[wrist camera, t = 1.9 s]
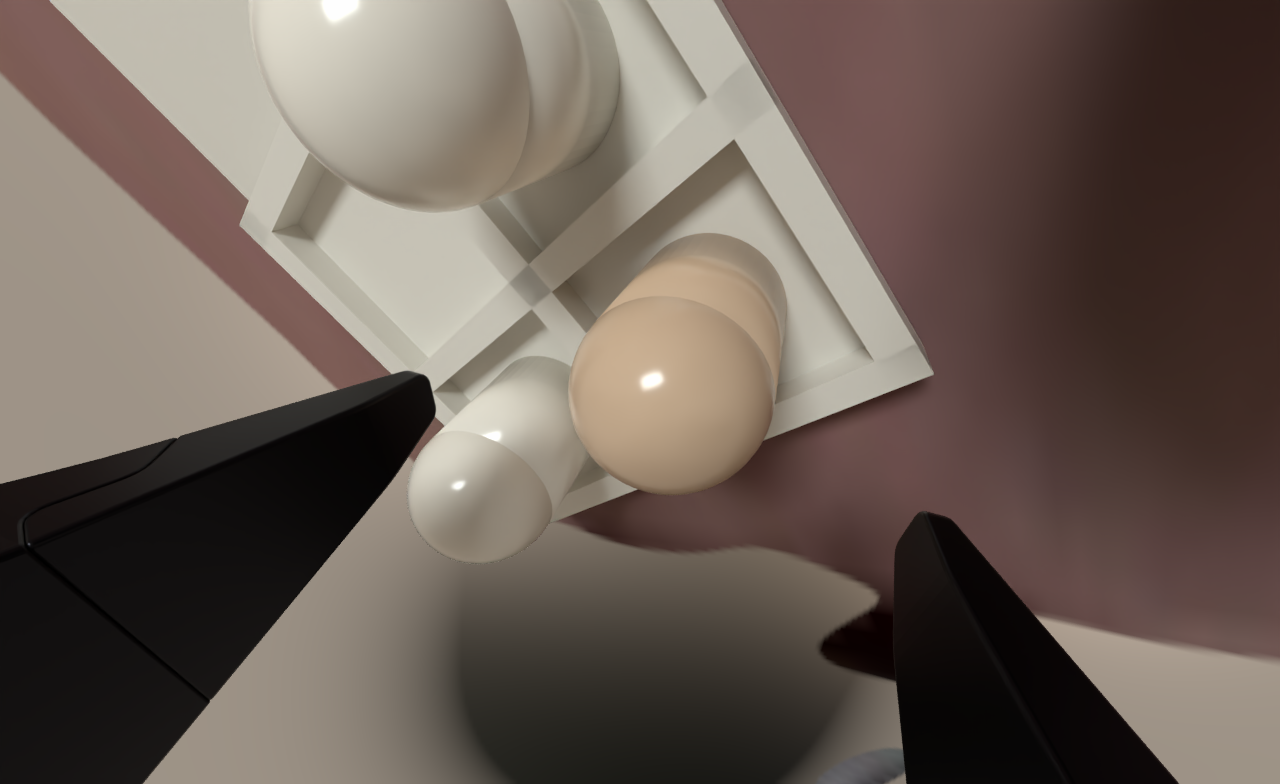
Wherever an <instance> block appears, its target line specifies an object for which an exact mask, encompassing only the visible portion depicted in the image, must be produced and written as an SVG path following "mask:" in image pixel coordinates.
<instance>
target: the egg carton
mask: <svg viewBox="0 0 1280 784" xmlns="http://www.w3.org/2000/svg"><path fill="white" fill-rule="evenodd" d="M49 1H50V2H51V3H52V4H53V5H54V6H55V7H56V8H57V9H58V10H59V11H60V12H61V13H62V14H63V15H64V16H65V17H66V18H67V19H68V20H69V21H70V22H71V23H72V24H73V25H74V26H75V27H76V28H77V29H78V30H79V31H80V32H81V33H82V34H83V35H84V36H85V37H86V38H87V39H88V40H89V41H90V42H91V43H92V44H93V45H94V46H95V47H96V48H97V49H98V50H99V51H100V52H101V53H102V54H103V55H104V56H105V57H106V58H107V59H108V60H109V61H110V62H111V63H112V64H113V65H114V66H115V67H116V68H117V69H118V70H119V71H120V72H121V73H122V74H123V75H124V76H125V77H126V78H127V79H128V80H129V81H130V82H131V83H132V84H133V85H134V86H135V87H136V88H137V89H138V90H139V91H140V92H141V93H142V94H143V95H144V96H145V97H146V98H147V99H148V100H149V101H150V102H151V103H152V104H153V105H154V106H155V107H156V108H157V109H158V110H159V111H160V112H161V113H162V114H163V115H164V116H165V117H166V118H167V119H168V120H169V121H170V122H171V123H172V124H173V125H174V126H175V127H176V128H177V129H178V130H179V131H180V132H181V133H182V134H183V135H184V136H185V137H186V138H187V139H188V140H189V141H190V142H191V143H192V144H193V145H194V146H195V147H196V148H197V149H198V150H199V151H200V152H201V153H202V154H203V155H204V156H205V157H206V158H207V159H208V160H209V161H210V162H211V163H212V164H213V165H214V166H215V167H216V168H217V169H218V170H219V171H220V172H221V173H222V174H223V175H224V176H225V177H226V178H227V179H228V180H229V181H230V182H231V183H232V184H233V185H234V186H235V187H236V188H237V189H238V190H239V191H240V192H241V193H242V194H243V195H244V196H245V197H246V198H247V199H248V200H249V202H248V205H247V207H246V210H245V212H244V215H243V217H242V220H241V222H240V226H241V227H242V228H243V229H244V230H245V231H246V232H247V233H248V234H249V235H250V236H251V237H252V238H253V239H254V240H255V241H256V242H257V243H258V244H259V245H260V246H261V247H262V248H263V249H264V250H265V251H266V252H267V253H268V254H269V255H270V256H271V257H273V258H274V259H275V260H276V261H277V262H278V263H279V264H280V265H281V266H282V267H283V268H284V269H285V270H286V271H287V272H288V273H289V274H290V275H291V276H292V277H293V278H294V279H295V280H296V281H297V282H298V283H299V284H300V285H301V286H302V287H303V288H304V289H305V290H306V291H307V292H308V293H309V294H310V295H311V296H312V297H313V298H314V299H315V300H317V301H318V302H319V303H320V304H321V305H322V306H323V307H324V308H325V309H326V310H327V311H328V312H329V313H330V314H331V315H332V316H333V317H334V318H335V319H336V320H337V321H338V322H339V323H340V324H341V325H342V326H343V327H344V328H345V329H346V330H347V331H348V332H349V333H350V334H351V335H352V336H353V337H354V338H355V339H356V340H357V341H358V342H360V343H361V344H362V345H363V346H364V347H365V348H366V349H367V350H368V351H369V352H370V353H371V354H372V355H373V356H374V357H375V358H376V359H377V360H378V361H379V362H380V363H381V364H382V365H383V366H384V367H385V368H386V369H387V370H388V371H389V372H390V373H391V374H395V373H398V372H401V371H413V372H417V373H420V374H424V375H425V376H427V377H428V379H429V380H430V383H431V388H432V392H433V396H434V400H435V404H436V414H435V417H436V418H437V419H438V420H439V421H440V422H441V423H442V424H443V425H444V426H446V425H447V424H448V423H449V422H450V421H451V420H452V419H453V418H454V417H455V416H456V415H457V414H458V413H459V412H460V411H461V410H462V409H464V408H465V407H466V406H467V405H468V404H469V403H470V402H471V401H472V400H473V399H474V398H475V397H476V396H477V395H478V394H479V393H480V392H481V391H482V390H483V389H484V388H486V387H487V386H488V385H489V384H490V383H491V382H492V381H493V380H494V379H495V378H496V377H497V376H498V375H499V374H500V373H501V372H502V371H503V370H504V369H505V368H506V367H508V366H509V365H510V364H511V363H512V362H514V361H515V360H517V359H519V358H522V357H526V356H545V357H549V358H553V359H556V360H559V361H561V362H563V363H565V364H567V365H569V366H572V363H573V360H574V357H575V354H576V352H577V349H578V347H579V345H580V343H581V341H582V339H583V338H584V336H585V335H586V333H587V332H588V331H589V329H590V328H591V327H592V325H593V324H594V323H595V322H596V320H597V319H598V318H599V317H600V316H601V315H602V314H603V313H604V311H605V310H606V309H607V308H608V307H609V306H610V305H611V304H612V302H613V301H614V300H615V299H616V298H617V297H618V296H619V295H620V293H621V292H622V291H623V290H624V289H625V288H626V287H627V286H628V284H629V283H630V282H631V281H632V280H633V279H634V278H635V277H636V275H637V274H638V273H639V272H640V271H641V270H642V269H643V268H644V266H645V265H646V264H647V263H648V262H649V261H650V260H651V259H652V257H653V256H654V255H655V254H656V253H657V252H659V251H660V250H661V249H662V248H663V247H665V246H666V245H668V244H669V243H671V242H673V241H675V240H677V239H679V238H682V237H685V236H688V235H693V234H699V233H718V234H723V235H728V236H732V237H735V238H738V239H740V240H742V241H744V242H746V243H748V244H750V245H751V246H753V247H754V248H756V249H757V250H759V251H760V252H761V253H762V254H763V255H764V256H765V257H766V258H767V259H768V260H769V261H770V262H771V263H772V265H773V266H774V268H775V269H776V271H777V272H778V274H779V276H780V278H781V280H782V283H783V286H784V289H785V293H786V299H787V316H786V324H785V331H784V339H783V347H782V354H781V362H780V370H779V377H778V385H777V393H776V400H775V406H774V412H773V417H772V421H771V424H770V427H769V429H768V432H767V434H766V436H765V438H764V440H766V439H769V438H771V437H774V436H777V435H779V434H782V433H784V432H787V431H789V430H792V429H795V428H797V427H800V426H802V425H805V424H807V423H810V422H813V421H815V420H818V419H820V418H823V417H826V416H828V415H831V414H833V413H836V412H838V411H841V410H844V409H846V408H849V407H851V406H854V405H856V404H859V403H862V402H864V401H867V400H869V399H872V398H875V397H877V396H880V395H882V394H885V393H887V392H890V391H893V390H895V389H898V388H900V387H903V386H905V385H908V384H911V383H913V382H916V381H918V380H921V379H924V378H926V377H929V376H931V375H934V372H933V370H932V367H931V364H930V362H929V359H928V357H927V354H926V351H925V349H924V346H923V344H922V342H921V340H920V339H919V337H918V335H917V334H916V332H915V330H914V328H913V327H912V325H911V323H910V322H909V320H908V318H907V316H906V315H905V313H904V311H903V310H902V308H901V306H900V304H899V303H898V301H897V299H896V298H895V296H894V294H893V293H892V291H891V289H890V287H889V286H888V284H887V282H886V281H885V279H884V277H883V275H882V274H881V272H880V270H879V269H878V267H877V265H876V263H875V262H874V260H873V258H872V257H871V255H870V253H869V251H868V250H867V248H866V246H865V245H864V243H863V241H862V240H861V238H860V236H859V234H858V233H857V231H856V229H855V228H854V226H853V224H852V222H851V221H850V219H849V217H848V216H847V214H846V212H845V210H844V209H843V207H842V205H841V204H840V202H839V200H838V198H837V197H836V195H835V193H834V192H833V190H832V188H831V186H830V185H829V183H828V181H827V180H826V178H825V176H824V175H823V173H822V171H821V169H820V168H819V166H818V164H817V163H816V161H815V159H814V157H813V156H812V154H811V152H810V151H809V149H808V147H807V145H806V144H805V142H804V140H803V139H802V137H801V135H800V133H799V132H798V130H797V128H796V127H795V125H794V123H793V122H792V120H791V118H790V116H789V115H788V113H787V111H786V110H785V108H784V106H783V104H782V103H781V101H780V99H779V98H778V96H777V94H776V92H775V91H774V89H773V87H772V86H771V84H770V82H769V80H768V79H767V77H766V75H765V74H764V72H763V70H762V69H761V67H760V65H759V63H758V62H757V60H756V58H755V57H754V55H753V53H752V51H751V50H750V48H749V46H748V45H747V43H746V41H745V39H744V38H743V36H742V34H741V33H740V31H739V29H738V27H737V26H736V24H735V22H734V21H733V19H732V17H731V16H730V14H729V12H728V10H727V9H726V7H725V5H724V4H723V2H722V0H598V1H599V3H600V5H601V6H602V8H603V10H604V12H605V14H606V17H607V19H608V21H609V24H610V27H611V29H612V32H613V35H614V39H615V43H616V47H617V52H618V59H619V70H620V86H619V97H618V103H617V108H616V112H615V115H614V119H613V122H612V124H611V126H610V129H609V131H608V133H607V135H606V137H605V138H604V140H603V142H602V143H601V144H600V146H599V147H598V148H597V150H596V151H595V152H594V153H593V154H592V155H591V156H590V157H589V158H587V159H586V160H585V161H583V162H582V163H580V164H578V165H576V166H574V167H572V168H570V169H568V170H565V171H563V172H560V173H557V174H555V175H552V176H550V177H547V178H545V179H542V180H540V181H537V182H535V183H532V184H530V185H527V186H525V187H522V188H519V189H517V190H514V191H512V192H509V193H507V194H504V195H502V196H499V197H497V198H494V199H492V200H489V201H486V202H484V203H481V204H479V205H476V206H473V207H469V208H466V209H462V210H459V211H452V212H442V213H428V212H418V211H411V210H406V209H402V208H398V207H395V206H392V205H389V204H386V203H383V202H381V201H378V200H375V199H373V198H371V197H369V196H367V195H365V194H363V193H361V192H360V191H358V190H356V189H354V188H353V187H351V186H349V185H348V184H346V183H345V182H343V181H342V180H340V179H339V178H338V177H337V176H335V175H334V174H333V173H332V172H330V171H329V170H328V169H327V168H326V167H324V166H323V165H322V164H321V163H320V162H319V161H318V160H317V159H316V158H315V157H314V156H312V155H311V153H310V152H309V151H308V150H307V149H306V148H305V147H304V146H303V145H302V143H301V142H300V141H299V140H298V138H297V137H296V136H295V134H294V133H293V132H292V131H291V129H290V128H289V127H288V125H287V124H286V122H285V121H284V119H283V118H282V116H281V115H280V113H279V111H278V110H277V108H276V106H275V104H274V103H273V101H272V99H271V97H270V95H269V93H268V91H267V88H266V86H265V84H264V81H263V79H262V76H261V74H260V71H259V68H258V65H257V61H256V58H255V54H254V50H253V46H252V40H251V33H250V22H249V0H49ZM764 440H763V441H764ZM635 490H637V489H636V488H633V487H631V486H628V485H626V484H624V483H622V482H621V481H619V480H617V479H616V478H614V477H613V476H611V475H610V474H609V473H607V472H606V471H605V470H604V469H603V468H601V467H600V466H599V465H598V464H597V463H596V462H595V461H594V459H593V458H592V457H591V456H590V455H589V457H588V459H587V460H586V462H585V464H584V465H583V467H582V469H581V470H580V472H579V474H578V476H577V477H576V479H575V481H574V482H573V484H572V486H571V487H570V489H569V491H568V492H567V494H566V496H565V497H564V499H563V501H562V502H561V504H560V506H559V508H558V509H557V511H556V513H555V514H554V516H553V518H552V519H551V521H550V523H552V522H555V521H557V520H560V519H562V518H565V517H568V516H570V515H573V514H575V513H578V512H581V511H583V510H586V509H588V508H591V507H593V506H596V505H599V504H601V503H604V502H606V501H609V500H611V499H614V498H617V497H619V496H622V495H624V494H627V493H630V492H632V491H635ZM550 523H549V524H550Z"/></svg>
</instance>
